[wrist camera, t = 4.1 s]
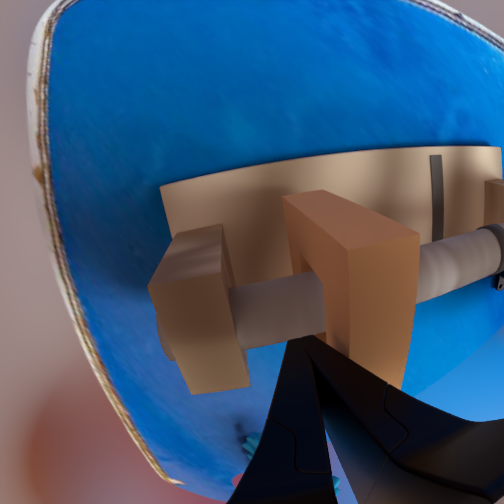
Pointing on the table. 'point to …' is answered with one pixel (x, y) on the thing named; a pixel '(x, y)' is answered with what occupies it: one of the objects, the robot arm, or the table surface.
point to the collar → (358, 277)
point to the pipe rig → (278, 252)
